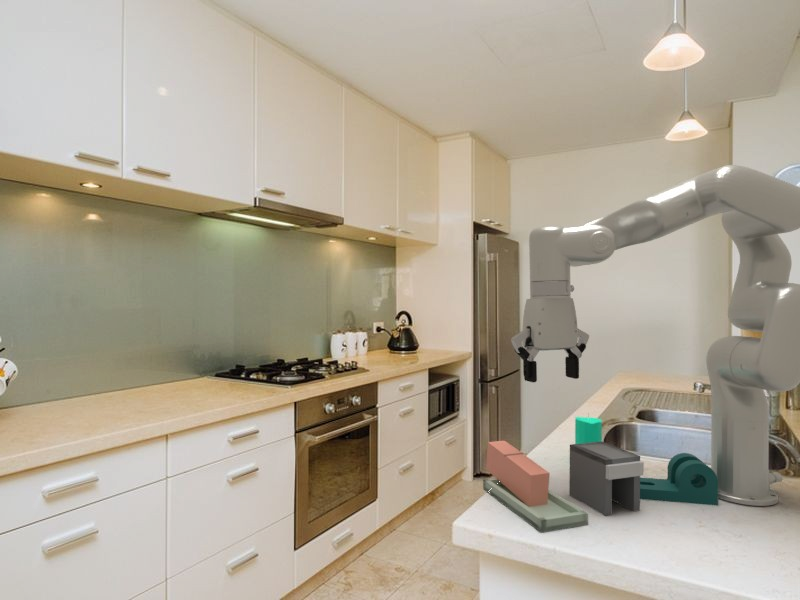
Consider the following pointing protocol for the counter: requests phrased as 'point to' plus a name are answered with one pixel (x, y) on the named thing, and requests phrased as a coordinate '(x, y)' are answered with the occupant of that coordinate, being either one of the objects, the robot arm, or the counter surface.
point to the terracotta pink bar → (518, 473)
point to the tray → (539, 508)
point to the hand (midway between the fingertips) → (551, 379)
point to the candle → (588, 430)
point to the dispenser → (605, 476)
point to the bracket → (683, 483)
